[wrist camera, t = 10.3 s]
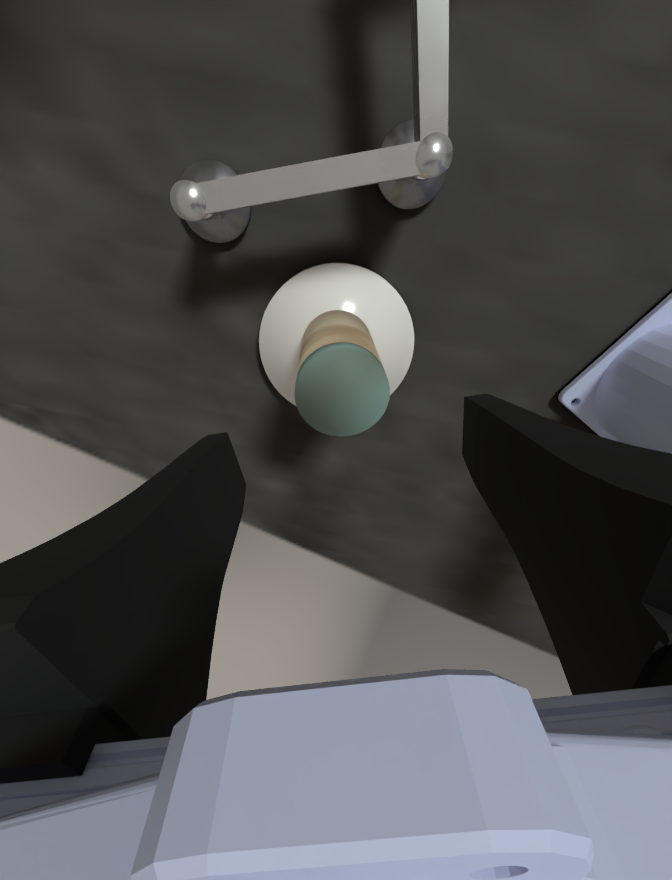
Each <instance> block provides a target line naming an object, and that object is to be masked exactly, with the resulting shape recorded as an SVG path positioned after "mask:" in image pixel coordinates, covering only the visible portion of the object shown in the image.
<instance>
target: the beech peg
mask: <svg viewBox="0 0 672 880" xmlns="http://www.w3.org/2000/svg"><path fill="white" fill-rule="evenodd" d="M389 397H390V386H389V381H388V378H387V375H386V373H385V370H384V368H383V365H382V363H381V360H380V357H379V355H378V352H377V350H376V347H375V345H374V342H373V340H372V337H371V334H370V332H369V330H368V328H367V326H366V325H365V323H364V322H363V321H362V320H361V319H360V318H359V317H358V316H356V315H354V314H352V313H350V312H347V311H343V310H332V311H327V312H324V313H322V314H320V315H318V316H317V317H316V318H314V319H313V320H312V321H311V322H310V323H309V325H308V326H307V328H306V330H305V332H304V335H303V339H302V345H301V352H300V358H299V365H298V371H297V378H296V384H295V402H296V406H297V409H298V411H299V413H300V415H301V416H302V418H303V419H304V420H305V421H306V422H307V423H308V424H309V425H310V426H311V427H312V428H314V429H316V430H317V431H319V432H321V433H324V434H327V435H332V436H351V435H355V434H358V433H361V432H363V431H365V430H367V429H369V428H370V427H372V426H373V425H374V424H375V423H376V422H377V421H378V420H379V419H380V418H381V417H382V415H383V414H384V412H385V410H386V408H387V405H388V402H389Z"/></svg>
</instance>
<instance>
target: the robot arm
mask: <svg viewBox="0 0 672 880" xmlns="http://www.w3.org/2000/svg"><path fill="white" fill-rule="evenodd" d="M575 398H576V400H575V402H573V403H571V402H572V400H573V399H575ZM558 399H559V401H560V402H561V403H562V404H563V405H565V406H566V407H567V408H568V409H569V410H570V411H571V412H573V413H574V414H575V415H576V416H577V417H578V418H580V419H581V420H582V421H583V422H584V423H585V424H586V425H588V426H589V427H590V428H591V429H592V430H593V431H594V432H596V433H597V434H598V435H599V436H596V435H593V434H590V433H587V432H584V431H581V430H578V429H575V428H572V427H569V426H566V425H564V424H561V423H558V422H555V421H553V420H550V419H548V418H545V417H542V416H540V415H538V414H535V413H533V412H530V411H528V410H526V409H523V408H521V407H518V406H516V405H514V404H511V403H509V402H507V401H504V400H502V399H499V398H497V397H494V396H491V395H488V394H481V395H474V396H467V397H464V420H463V448H462V454H463V457H464V460H465V462H466V465H467V467H468V470H469V472H470V475H471V477H472V479H473V481H474V483H475V485H476V487H477V488H478V490H479V492H480V494H481V495H482V497H483V499H484V500H485V502H486V504H487V506H488V507H489V509H490V511H491V512H492V514H493V516H494V517H495V519H496V521H497V522H498V524H499V526H500V527H501V529H502V531H503V532H504V534H505V536H506V537H507V539H508V541H509V543H510V545H511V547H512V549H513V550H514V552H515V554H516V557H517V559H518V561H519V563H520V566H521V568H522V570H523V572H524V574H525V577H526V579H527V581H528V583H529V586H530V588H531V590H532V593H533V595H534V597H535V600H536V602H537V605H538V607H539V609H540V612H541V614H542V616H543V619H544V621H545V624H546V626H547V629H548V631H549V634H550V636H551V639H552V642H553V644H554V647H555V649H556V652H557V654H558V657H559V659H560V662H561V665H562V667H563V670H564V673H565V676H566V678H567V681H568V684H569V686H570V689H571V692H572V695H571V696H561V697H551V698H542V699H531V697H530V695H529V692H528V690H527V689H526V688H524V687H522V686H520V685H518V684H516V683H515V682H512V681H510V680H507V679H505V678H503V677H500V676H498V675H496V674H493V673H491V672H489V671H485V670H448V669H442V670H432V671H424V672H414V673H405V674H396V675H386V676H378V677H369V678H360V679H349V680H340V681H332V682H322V683H313V684H303V685H294V686H285V687H276V688H267V689H258V690H249V691H240V692H236V693H232V694H228V695H224V696H220V697H217V698H213V699H209V700H206V697H207V688H208V679H209V670H210V661H211V653H212V646H213V639H214V632H215V625H216V619H217V613H218V607H219V600H220V594H221V589H222V584H223V581H224V576H225V572H226V569H227V566H228V562H229V559H230V555H231V552H232V548H233V545H234V541H235V538H236V534H237V531H238V527H239V523H240V520H241V516H242V512H243V506H244V498H245V489H246V483H245V480H244V477H243V475H242V472H241V469H240V466H239V463H238V461H237V458H236V455H235V452H234V450H233V447H232V444H231V441H230V438H229V436H228V433H227V432H225V433H219V434H212V435H207V436H206V437H204V438H202V439H201V440H200V441H198V442H197V443H196V444H194V445H193V446H192V447H190V448H189V449H188V450H187V451H185V452H184V453H183V454H182V455H180V456H179V457H178V458H177V459H175V460H174V461H173V462H171V463H170V464H169V465H168V466H166V467H165V468H164V469H163V470H161V471H160V472H159V473H157V474H156V475H155V476H153V477H152V478H151V479H149V480H148V481H147V482H145V483H144V484H143V485H141V486H140V487H139V488H137V489H136V490H135V491H133V492H132V493H130V494H129V495H127V496H126V497H124V498H123V499H121V500H120V501H118V502H117V503H115V504H114V505H112V506H110V507H109V508H107V509H105V510H104V511H102V512H101V513H99V514H98V515H96V516H94V517H92V518H90V519H89V520H87V521H85V522H83V523H81V524H80V525H77V526H76V527H74V528H72V529H70V530H68V531H67V532H65V533H63V534H61V535H59V536H57V537H55V538H53V539H52V540H49V541H47V542H45V543H43V544H41V545H39V546H37V547H35V548H33V549H31V550H29V551H26V552H24V553H22V554H20V555H18V556H15V557H13V558H11V559H9V560H7V561H4V562H2V563H0V880H672V293H671V294H670V295H669V296H667V297H666V298H665V299H664V300H663V301H662V302H661V303H660V304H658V305H657V306H656V307H655V308H654V309H653V310H652V311H651V312H649V313H648V314H647V315H646V316H645V317H644V318H643V319H642V320H640V321H639V322H638V323H637V324H636V325H635V326H634V327H633V328H631V329H630V330H629V331H628V332H627V333H626V334H625V335H624V336H623V337H621V338H620V339H619V340H618V341H617V342H616V343H615V344H614V345H612V346H611V347H610V348H609V349H608V350H607V351H606V352H605V353H603V354H602V355H601V356H600V357H599V358H598V359H597V360H596V361H594V362H593V363H592V364H591V365H590V366H589V367H588V368H587V369H585V370H584V371H583V372H582V373H581V374H580V375H579V376H578V377H576V378H575V379H574V380H573V381H572V382H571V383H570V384H569V385H567V386H566V387H565V388H564V389H563V390H562V391H561V392H560V393H559V396H558Z"/></svg>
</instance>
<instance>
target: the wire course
mask: <svg viewBox="0 0 672 880" xmlns="http://www.w3.org/2000/svg"><path fill="white" fill-rule="evenodd" d="M410 14H411V46H412V78H413V110H414V120H409V121H405V122H403V123H401V124H399V125H398V126H396V127H395V128H394V129H393V130H392V131H391V132H390V133H389V134H388V135H387V136H386V138H385V139H384V141H383V142H382V144H381V146H380V148H379V149H375V150H370V151H364V152H359V153H354V154H348V155H343V156H338V157H332V158H327V159H322V160H316V161H311V162H306V163H301V164H295V165H290V166H285V167H279V168H274V169H269V170H263V171H258V172H253V173H247V174H242V175H238V174H237V173H236V172H235V171H234V170H233V169H232V168H230V167H229V166H227V165H226V164H224V163H222V162H219V161H216V160H210V159H206V160H200V161H197V162H195V163H193V164H192V165H190V166H189V167H188V168H187V169H186V170H185V172H184V173H183V175H182V177H181V179H180V181H178V182H176V183H175V184H174V185H173V187H172V189H171V192H170V201H171V204H172V207H173V209H174V211H175V212H176V213H177V214H178V215H179V216H180V217H181V218H183V219H184V220H185V221H186V222H187V224H188V225H189V226H190V228H191V229H192V230H193V231H194V232H195V233H196V234H198V235H199V236H200V237H202V238H204V239H206V240H208V241H211V242H216V243H224V242H229V241H232V240H234V239H236V238H237V237H239V236H240V235H241V234H242V233H243V232H244V231H245V229H246V227H247V226H248V223H249V220H250V216H251V207H252V206H257V205H263V204H268V203H274V202H279V201H284V200H290V199H295V198H301V197H306V196H312V195H317V194H323V193H328V192H334V191H339V190H345V189H350V188H355V187H361V186H366V185H372V184H377V185H378V188H379V190H380V192H381V194H382V196H383V197H384V198H385V199H386V201H387V202H389V203H390V204H391V205H393V206H395V207H397V208H401V209H415V208H418V207H421V206H423V205H425V204H427V203H428V202H429V201H431V200H432V199H433V198H434V197H435V195H436V194H437V193H438V192H439V190H440V189H441V187H442V185H443V183H444V180H445V178H446V174H447V170H448V167H449V165H450V163H451V160H452V156H453V147H452V143H451V141H450V139H449V138H448V58H449V0H410Z"/></svg>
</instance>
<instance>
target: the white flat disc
mask: <svg viewBox="0 0 672 880" xmlns="http://www.w3.org/2000/svg"><path fill="white" fill-rule="evenodd" d="M332 310H343V311H347V312H350V313H352V314H354V315H356V316H358V317H359V318H360V319H361V320H362V321H363V322H364V323H365V325H366V326H367V328H368V330H369V332H370V334H371V337H372V340H373V342H374V345H375V347H376V350H377V352H378V355H379V357H380V360H381V363H382V365H383V368H384V370H385V373H386V375H387V378H388V381H389V386H390V395H391V394H392V393H393V392H394V391H395V390H396V388H397V387H398V386H399V385H400V383H401V382H402V380H403V378H404V377H405V375H406V373H407V371H408V368H409V366H410V363H411V359H412V356H413V349H414V330H413V324H412V320H411V316H410V314H409V311H408V309H407V306H406V305H405V303H404V301H403V299H402V298H401V296H400V295H399V294H398V292H397V291H396V290H395V289H394V288H393V287H392V286H391V285H390V284H389V283H388V282H387V281H386V280H385V279H384V278H382V277H381V276H379V275H378V274H377V273H375V272H373V271H371V270H369V269H367V268H364V267H361V266H359V265H355V264H350V263H340V262H333V263H324V264H320V265H315V266H312V267H310V268H307V269H305V270H303V271H301V272H299V273H297V274H296V275H294V276H293V277H291V278H290V279H289V280H288V281H286V282H285V283H284V284H283V285H282V286H281V287H280V288H279V290H278V291H277V292H276V294H275V295H274V296H273V298H272V299H271V301H270V303H269V305H268V307H267V309H266V311H265V313H264V316H263V319H262V322H261V327H260V334H259V349H260V356H261V360H262V364H263V367H264V369H265V372H266V374H267V376H268V378H269V380H270V381H271V383H272V384H273V386H274V387H275V388H276V389H277V391H278V392H279V393H280V394H281V395H282V396H283V397H284V398H285V399H287V400H288V401H289V402H291V403H292V404H293V405H295V406H296V402H295V384H296V378H297V371H298V365H299V358H300V352H301V345H302V339H303V335H304V332H305V330H306V328H307V326H308V325H309V323H310V322H311V321H312V320H313V319H314V318H316V317H317V316H318V315H320V314H322V313H324V312H327V311H332Z"/></svg>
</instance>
